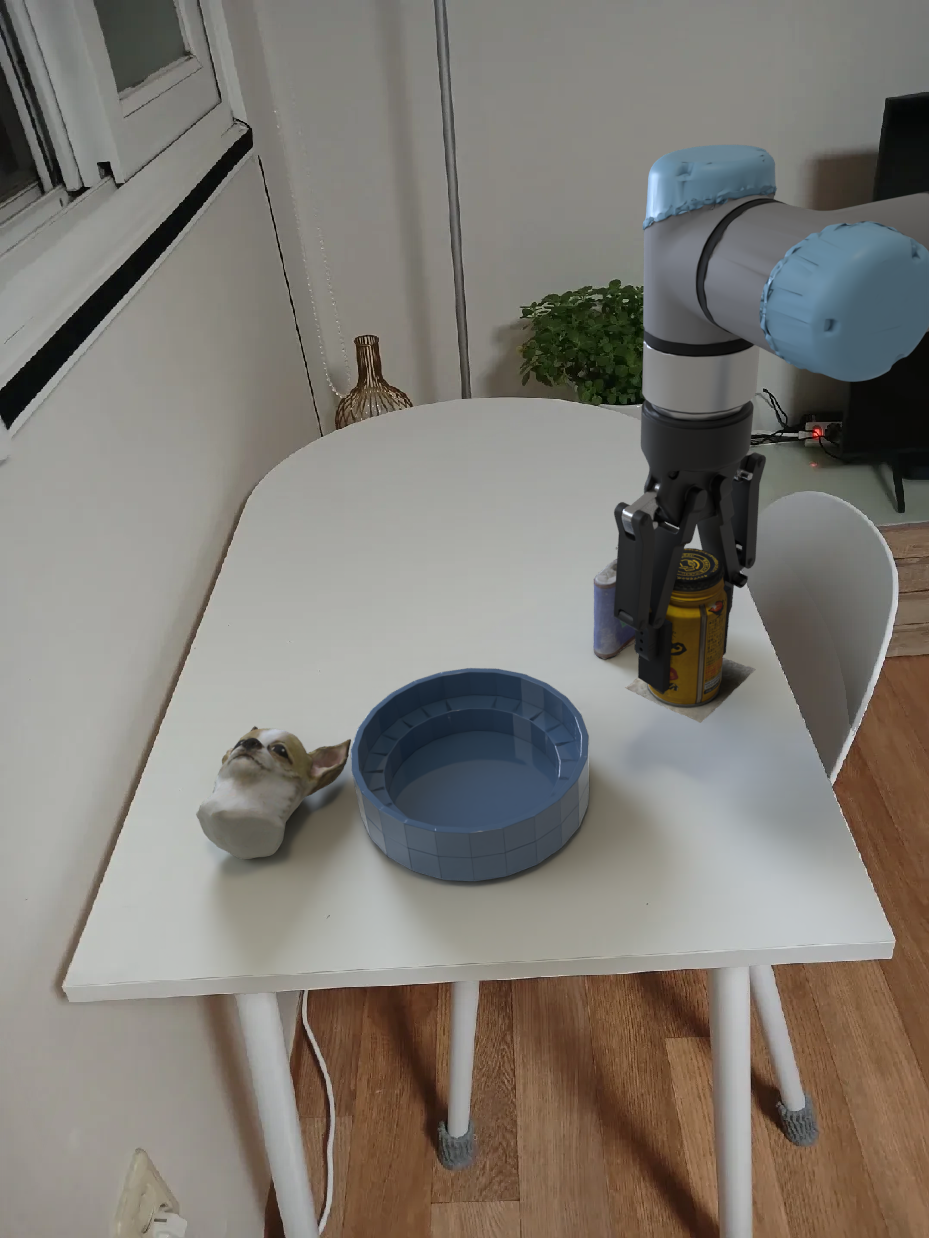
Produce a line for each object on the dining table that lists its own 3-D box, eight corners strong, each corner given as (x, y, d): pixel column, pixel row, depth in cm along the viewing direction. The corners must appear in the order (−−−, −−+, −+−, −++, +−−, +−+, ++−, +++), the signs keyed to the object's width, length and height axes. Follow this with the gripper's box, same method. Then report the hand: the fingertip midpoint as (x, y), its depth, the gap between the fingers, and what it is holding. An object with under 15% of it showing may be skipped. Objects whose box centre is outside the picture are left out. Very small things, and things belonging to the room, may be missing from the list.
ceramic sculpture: (146, 789, 72) (236, 674, 84) (171, 869, 76) (254, 750, 88) (275, 809, 69) (349, 688, 81) (293, 892, 74) (361, 765, 86)
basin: (637, 800, 78) (639, 747, 75) (451, 929, 70) (443, 876, 66) (492, 690, 91) (487, 640, 88) (320, 787, 83) (307, 736, 79)
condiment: (624, 689, 80) (625, 568, 73) (681, 641, 84) (687, 522, 77) (700, 725, 75) (709, 599, 68) (755, 672, 80) (769, 549, 73)
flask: (607, 663, 93) (607, 571, 87) (584, 651, 95) (583, 560, 89) (666, 621, 98) (670, 531, 92) (643, 610, 100) (646, 522, 94)
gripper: (744, 348, 72) (723, 601, 85) (556, 427, 63) (565, 695, 76) (830, 372, 67) (794, 637, 80) (638, 460, 58) (632, 741, 71)
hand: (682, 664), depth 78 cm, fingers closed on condiment, 6 cm apart
